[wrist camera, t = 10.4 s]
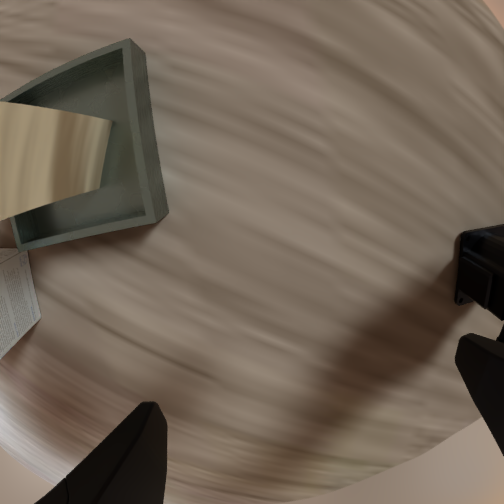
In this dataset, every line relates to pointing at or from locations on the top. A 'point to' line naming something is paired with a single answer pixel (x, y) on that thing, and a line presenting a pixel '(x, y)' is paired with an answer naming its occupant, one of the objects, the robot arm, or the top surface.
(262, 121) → the top surface
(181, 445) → the top surface
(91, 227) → the grey green tray
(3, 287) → the light bulb box
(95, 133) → the tall beech block
